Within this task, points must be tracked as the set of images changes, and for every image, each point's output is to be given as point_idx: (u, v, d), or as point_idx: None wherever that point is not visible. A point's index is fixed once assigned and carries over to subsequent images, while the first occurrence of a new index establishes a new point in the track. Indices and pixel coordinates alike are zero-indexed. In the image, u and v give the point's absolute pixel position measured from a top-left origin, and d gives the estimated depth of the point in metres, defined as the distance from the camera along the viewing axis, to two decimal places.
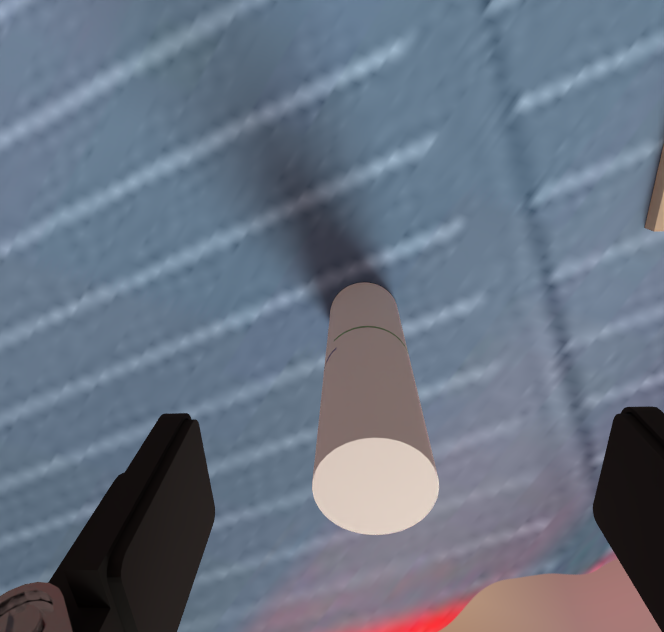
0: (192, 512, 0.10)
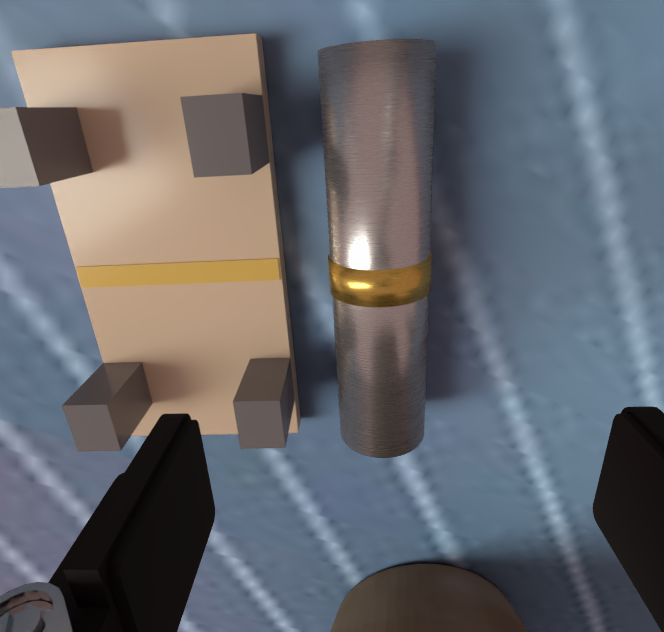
0: (192, 512, 0.10)
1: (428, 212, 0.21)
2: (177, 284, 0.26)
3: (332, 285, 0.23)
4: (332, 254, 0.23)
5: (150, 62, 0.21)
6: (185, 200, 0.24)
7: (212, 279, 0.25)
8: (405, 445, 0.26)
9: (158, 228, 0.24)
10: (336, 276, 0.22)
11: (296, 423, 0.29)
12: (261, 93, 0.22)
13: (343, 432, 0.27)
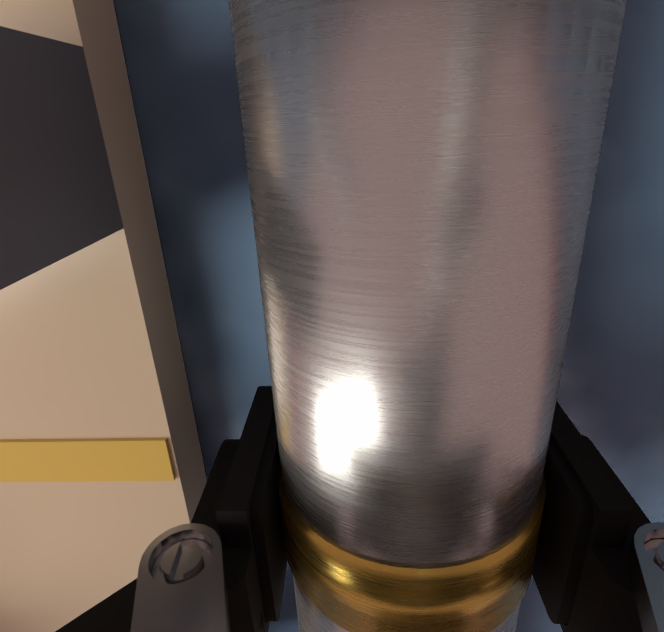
0: None
1: (557, 391, 0.07)
2: None
3: (286, 541, 0.09)
4: (283, 476, 0.08)
5: None
6: None
7: (23, 475, 0.11)
8: None
9: None
10: (293, 539, 0.08)
11: None
12: (80, 40, 0.08)
13: None
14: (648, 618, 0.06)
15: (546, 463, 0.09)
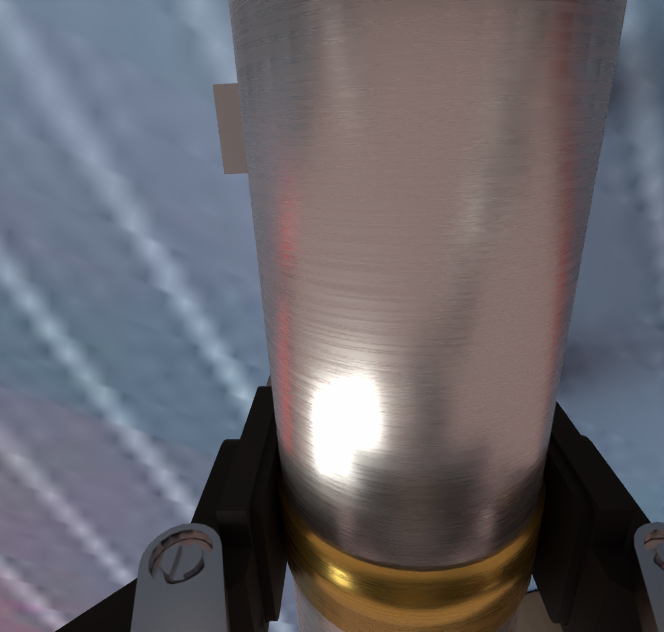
0: None
1: None
2: None
3: (286, 543, 0.09)
4: (284, 479, 0.08)
5: None
6: None
7: None
8: None
9: None
10: (293, 541, 0.08)
11: None
12: None
13: None
14: (648, 618, 0.06)
15: (546, 463, 0.09)
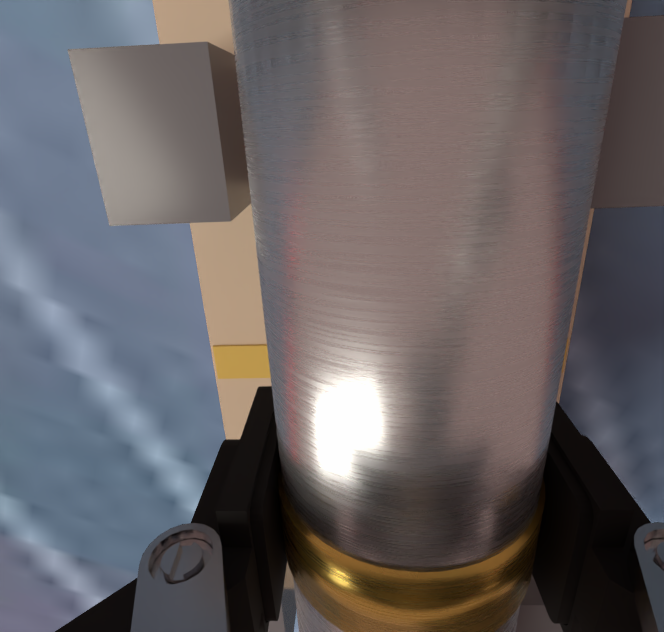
0: None
1: None
2: None
3: (286, 544, 0.09)
4: (284, 479, 0.08)
5: None
6: None
7: None
8: None
9: None
10: (293, 541, 0.08)
11: None
12: None
13: None
14: (648, 618, 0.06)
15: (546, 463, 0.09)
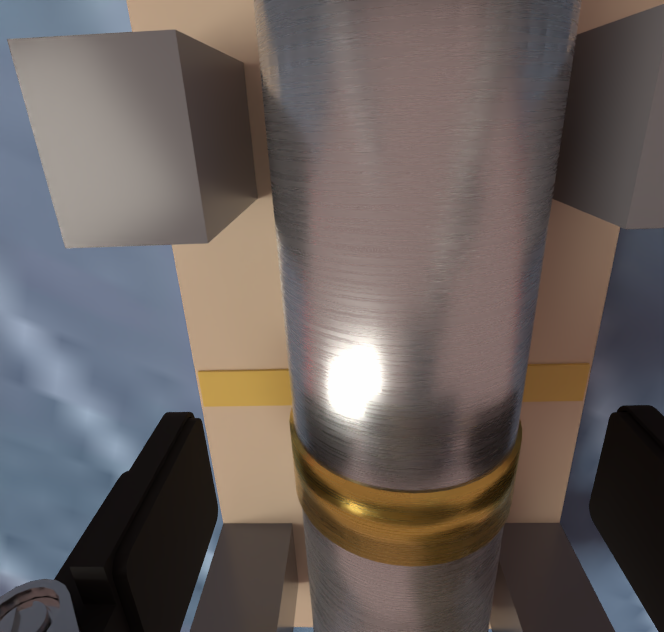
0: (196, 510, 0.10)
1: (529, 346, 0.09)
2: None
3: (297, 482, 0.10)
4: (296, 423, 0.10)
5: None
6: None
7: None
8: None
9: None
10: (304, 476, 0.10)
11: None
12: None
13: None
14: None
15: None
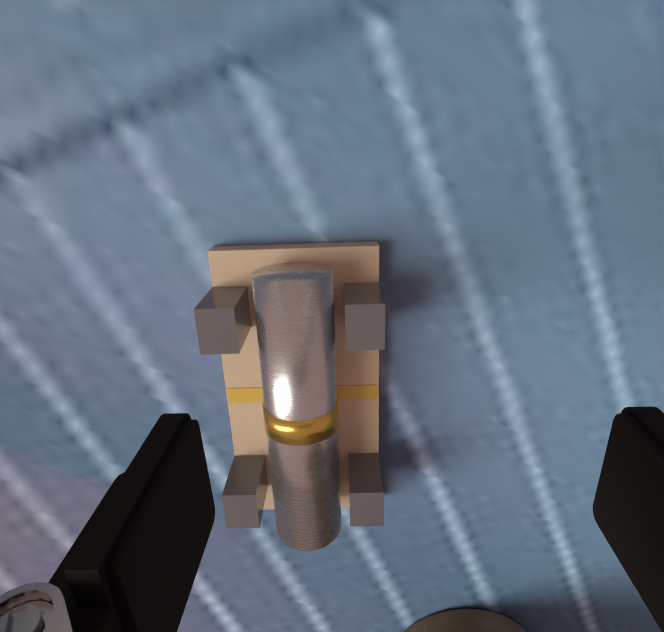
0: (192, 512, 0.10)
1: (332, 378, 0.30)
2: None
3: (265, 424, 0.31)
4: (264, 403, 0.31)
5: (304, 260, 0.31)
6: None
7: None
8: (323, 540, 0.33)
9: None
10: (267, 420, 0.31)
11: None
12: (378, 280, 0.31)
13: (277, 529, 0.34)
14: None
15: None
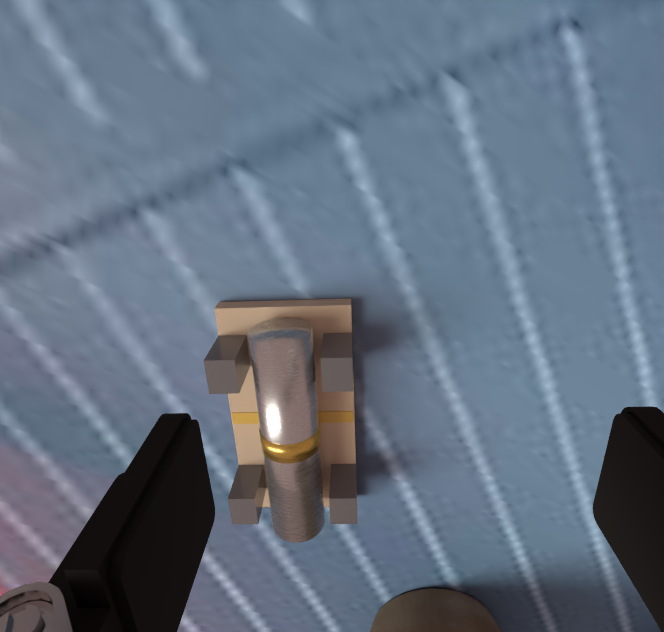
0: (192, 512, 0.10)
1: (313, 411, 0.38)
2: None
3: (261, 445, 0.39)
4: (260, 429, 0.39)
5: (291, 315, 0.39)
6: None
7: None
8: (309, 534, 0.42)
9: None
10: (262, 443, 0.39)
11: None
12: (351, 331, 0.39)
13: (273, 524, 0.43)
14: None
15: None
